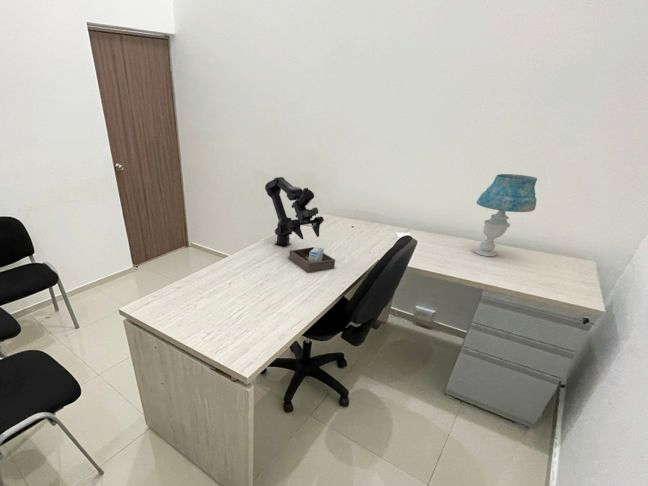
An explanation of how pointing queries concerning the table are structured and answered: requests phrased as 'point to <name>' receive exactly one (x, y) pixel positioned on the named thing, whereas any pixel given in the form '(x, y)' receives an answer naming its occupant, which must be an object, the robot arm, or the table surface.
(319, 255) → the medicine box
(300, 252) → the crate
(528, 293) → the table surface
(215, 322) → the table surface
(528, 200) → the table lamp
